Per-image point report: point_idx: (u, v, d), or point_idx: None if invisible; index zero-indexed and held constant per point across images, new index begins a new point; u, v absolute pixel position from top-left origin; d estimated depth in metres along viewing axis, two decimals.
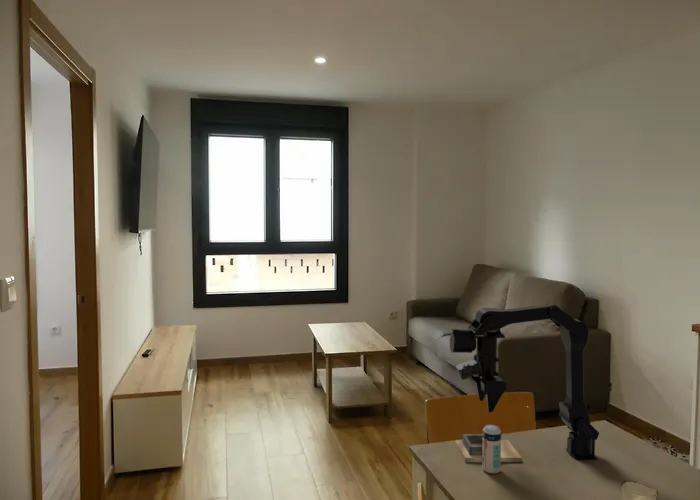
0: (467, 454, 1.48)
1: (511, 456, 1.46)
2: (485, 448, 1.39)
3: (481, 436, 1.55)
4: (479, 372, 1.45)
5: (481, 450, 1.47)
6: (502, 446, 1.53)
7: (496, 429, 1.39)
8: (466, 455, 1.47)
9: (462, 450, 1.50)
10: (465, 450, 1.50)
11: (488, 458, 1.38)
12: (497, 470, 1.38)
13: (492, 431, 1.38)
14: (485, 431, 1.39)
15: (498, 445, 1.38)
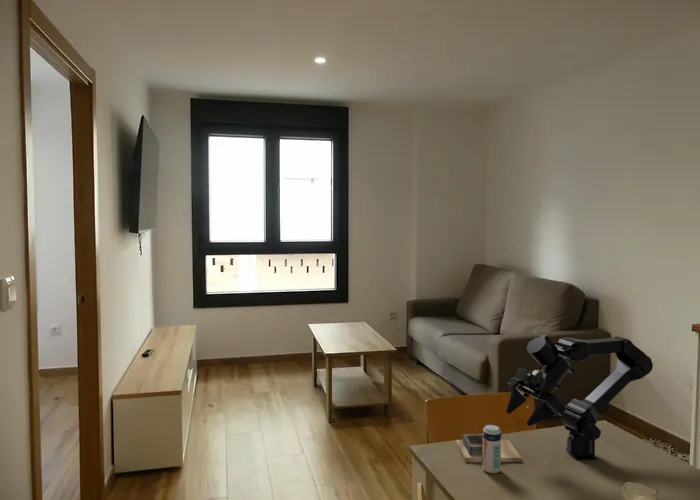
0: (467, 454, 1.48)
1: (511, 456, 1.46)
2: (485, 448, 1.39)
3: (481, 436, 1.55)
4: (541, 385, 1.41)
5: (481, 450, 1.47)
6: (502, 446, 1.53)
7: (496, 429, 1.39)
8: (466, 455, 1.47)
9: (462, 450, 1.50)
10: (465, 450, 1.50)
11: (488, 458, 1.38)
12: (497, 470, 1.38)
13: (492, 431, 1.38)
14: (485, 431, 1.39)
15: (498, 445, 1.38)
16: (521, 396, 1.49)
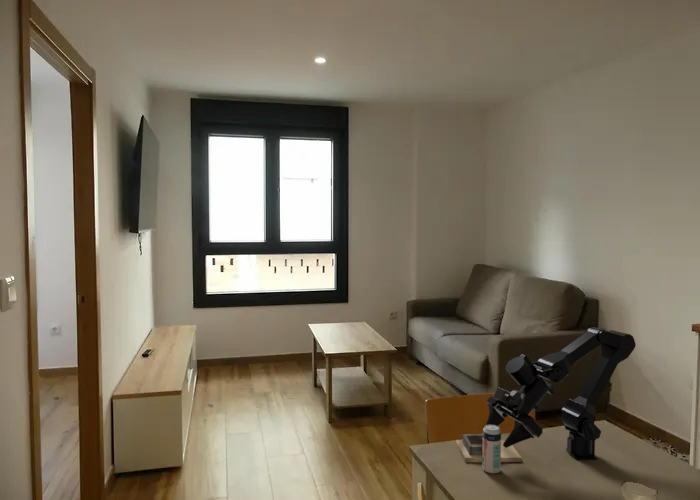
0: (467, 454, 1.48)
1: (511, 456, 1.46)
2: (485, 448, 1.39)
3: (481, 436, 1.55)
4: (519, 406, 1.39)
5: (481, 450, 1.47)
6: (502, 446, 1.53)
7: (496, 429, 1.39)
8: (466, 455, 1.47)
9: (462, 450, 1.50)
10: (465, 450, 1.50)
11: (488, 458, 1.38)
12: (497, 470, 1.38)
13: (492, 431, 1.38)
14: (485, 431, 1.39)
15: (498, 445, 1.38)
16: (499, 416, 1.47)
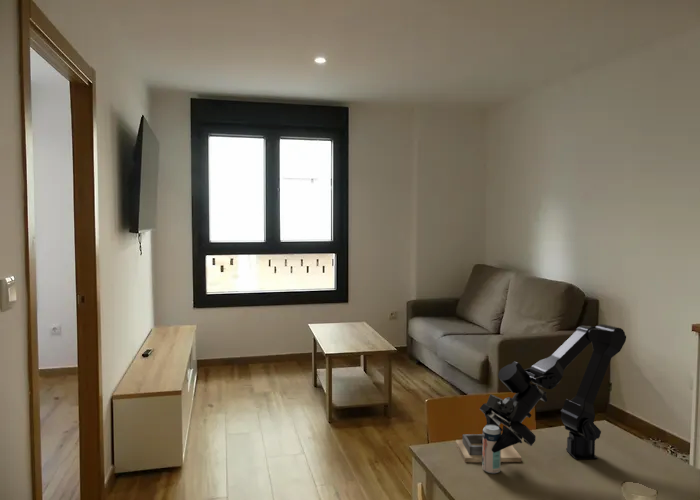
0: (467, 454, 1.48)
1: (511, 456, 1.46)
2: (485, 448, 1.39)
3: (481, 436, 1.55)
4: (511, 414, 1.38)
5: (481, 450, 1.47)
6: None
7: (496, 429, 1.39)
8: (466, 455, 1.47)
9: (462, 450, 1.50)
10: (465, 450, 1.50)
11: (488, 458, 1.38)
12: (497, 470, 1.38)
13: (492, 431, 1.38)
14: (485, 431, 1.39)
15: None
16: None
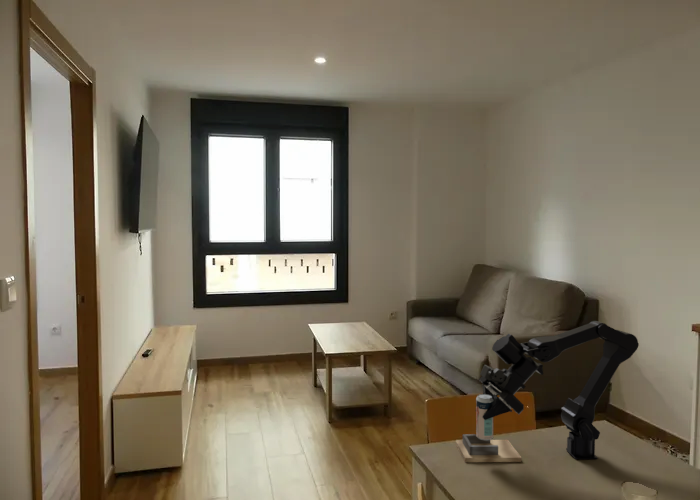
0: (467, 454, 1.48)
1: (511, 456, 1.46)
2: (477, 416, 1.45)
3: None
4: (503, 384, 1.43)
5: (481, 450, 1.47)
6: (502, 446, 1.53)
7: (488, 398, 1.44)
8: (466, 455, 1.47)
9: (462, 450, 1.50)
10: (465, 450, 1.50)
11: (480, 425, 1.44)
12: (489, 437, 1.44)
13: (483, 400, 1.43)
14: (477, 399, 1.45)
15: None
16: (493, 396, 1.49)
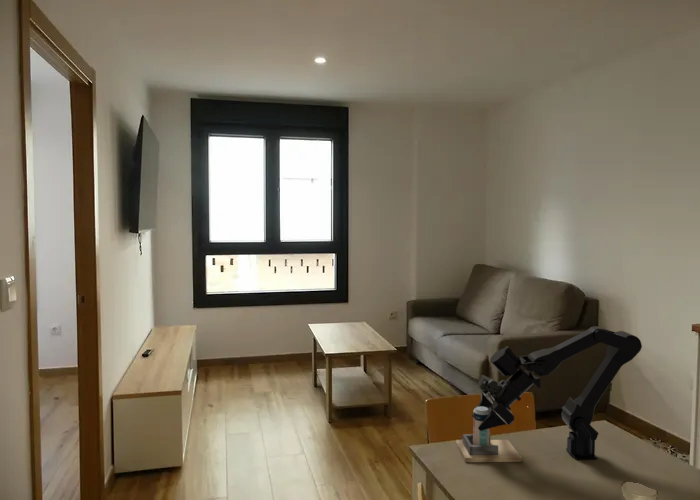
0: (467, 454, 1.48)
1: (511, 456, 1.46)
2: (473, 426, 1.51)
3: None
4: (498, 394, 1.47)
5: (481, 450, 1.47)
6: (502, 446, 1.53)
7: (484, 410, 1.49)
8: (466, 455, 1.47)
9: (462, 450, 1.50)
10: (465, 450, 1.50)
11: (475, 436, 1.50)
12: None
13: (479, 412, 1.49)
14: (474, 411, 1.51)
15: None
16: (490, 403, 1.56)
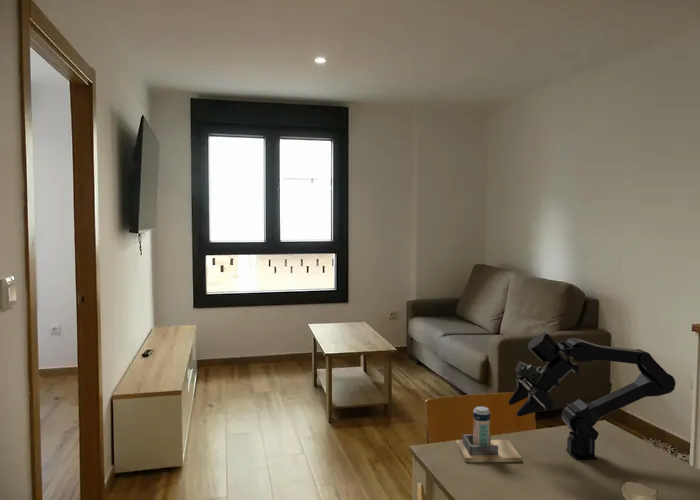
0: (467, 454, 1.48)
1: (511, 456, 1.46)
2: (474, 426, 1.51)
3: None
4: (536, 380, 1.47)
5: (481, 450, 1.47)
6: (502, 446, 1.53)
7: (484, 410, 1.49)
8: (466, 455, 1.47)
9: (462, 450, 1.50)
10: (465, 450, 1.50)
11: (475, 436, 1.50)
12: None
13: (479, 412, 1.49)
14: (474, 411, 1.51)
15: (485, 425, 1.49)
16: (526, 390, 1.55)
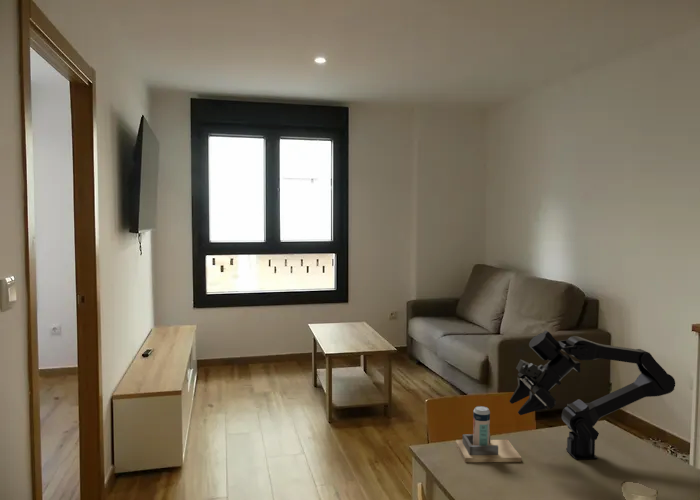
0: (467, 454, 1.48)
1: (511, 456, 1.46)
2: (474, 426, 1.51)
3: None
4: (537, 379, 1.46)
5: (481, 450, 1.47)
6: (502, 446, 1.53)
7: (484, 410, 1.49)
8: (466, 455, 1.47)
9: (462, 450, 1.50)
10: (465, 450, 1.50)
11: (475, 436, 1.50)
12: None
13: (479, 412, 1.49)
14: (474, 411, 1.51)
15: (485, 425, 1.49)
16: (527, 389, 1.55)
